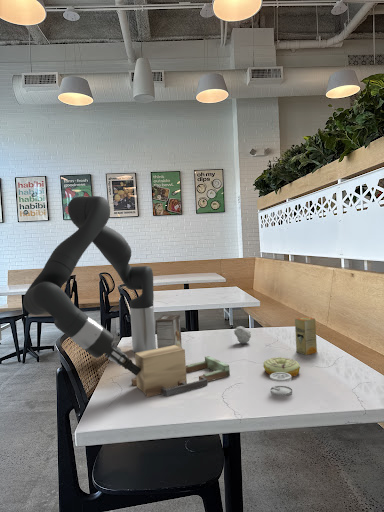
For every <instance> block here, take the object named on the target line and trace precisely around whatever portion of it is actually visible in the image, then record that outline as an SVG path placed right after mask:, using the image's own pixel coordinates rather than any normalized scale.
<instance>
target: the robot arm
mask: <svg viewBox="0 0 384 512" xmlns="http://www.w3.org/2000/svg"><path fill="white" fill-rule="evenodd" d="M67 213H68V216H69V218H70V221H71V222H72V223H73V225H74V226H76V228H78V229H77V230H76V231H75V232H73V234H71V235H69V237H67V238H65V239H64V240H63V241H62V242H60V243H59V244H58V245H57V246H56V247H55V248H54V250H53V251H52V253H51V254H50V256H49V258H48V259H47V261H46V262H45V264H44V266H43V268H42V270H41V272H40V273H39V274H38V275H37V276H36V277H35V279H34V281H32V283H31V284H30V285H29V287H28V288H27V290H26V291H25V294H24V296H23V300H22V301H23V307H24V309H25V311H26V312H28V313H29V314H30V315H35V316H38V315H42V314H45V313H48V314H49V315H50V316H51V317H52V318H53V319H54V321H53V322H54V326H55V327H56V328H57V329H58V331H60V332H61V333H63V334H64V335H66V337H69V338H70V339H71V340H72V341H73V342H74V343H75V344H77V346H79V347H80V348H81V349H83V350H84V351H85V352H87V353H88V354H89V355H91V356H92V357H94V358H95V359H96V358H101V357H103V356H104V357H105V358H107V360H109V361H111V362H113V363H115V364H116V365H118V366H119V367H121V366H122V368H123V369H125V370H128V371H129V372H131V374H133V375H134V376H136V375H138V373H139V372H140V371H141V369H140V368H139V367H138V366H136V363H133V361H132V359H130V358H129V357H128V355H127V353H124V351H122V348H120V347H119V346H118V345H116V344H114V343H113V342H114V337H115V336H114V334H113V333H112V332H110V331H109V330H108V329H106V328H105V326H103V325H102V324H100V323H99V322H98V321H96V320H95V319H94V318H91V316H88V315H87V314H86V313H85V312H83V311H82V310H81V309H80V308H78V307H77V306H76V305H75V304H74V302H73V300H71V298H70V297H69V295H67V293H66V292H65V291H64V289H62V288H61V287H63V285H65V284H66V283H67V282H68V281H69V280H70V278H71V276H72V274H73V272H74V270H75V268H76V267H77V265H78V262H79V261H80V259H81V258H82V256H83V254H84V253H85V252H86V251H87V249H88V248H89V246H90V245H91V244H94V245H95V246H94V247H96V248H97V249H98V250H99V251H100V252H101V255H102V256H103V257H104V259H106V260H107V261H108V263H109V264H110V265H111V266H112V268H113V269H114V270H115V272H116V273H117V275H118V276H119V278H120V279H121V281H122V282H123V285H124V286H125V287H126V288H127V289H129V290H132V291H134V290H135V291H136V290H137V291H139V290H140V291H141V294H140V295H139V296H138V297H136V298H133V299H131V300H130V301H129V310H130V311H129V312H130V326H131V327H130V328H131V329H130V330H131V342H132V343H131V346H132V352H133V353H134V354H135V353H138V352H143V351H148V350H153V349H157V343H156V342H157V337H156V321H155V311H154V310H155V309H154V306H155V305H154V299H155V297H154V296H155V295H154V272H153V269H152V267H151V266H149V265H141V266H140V265H139V266H137V265H136V266H132V265H131V264H130V261H131V258H132V248H131V246H130V245H129V243H128V242H127V240H126V239H125V237H124V236H123V235H122V234H120V233H119V232H118V231H116V230H115V229H113V228H111V227H109V226H108V225H107V224H108V223H109V222H108V221H109V219H110V216H111V206H110V203H109V201H108V199H107V198H105V197H103V196H101V195H99V196H98V195H91V196H90V195H86V196H85V195H83V196H81V195H80V196H76V197H73V198H72V199H70V200H69V202H68V204H67ZM112 343H113V344H112Z"/></svg>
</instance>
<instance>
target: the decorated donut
mask: <svg viewBox="0 0 384 512" xmlns="http://www.w3.org/2000/svg"><path fill="white" fill-rule="evenodd" d="M262 366H263V368H264V371H265V372H266V374H268V375H269V376H270V375H271V374H272V373H277V372H283V373H288V374H290V375H291V378H292V377H297V376H298V374H299V373H300V369H301V366H300V364H299V363H298V361H296V360H294V359H293V358H292V359H291V358H288V357H282V356H280V357H279V356H278V357H276V356H275V357H271V358H268V359H266V360H264V361H263V365H262Z"/></svg>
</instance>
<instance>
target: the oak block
mask: <svg viewBox="0 0 384 512" xmlns="http://www.w3.org/2000/svg"><path fill="white" fill-rule="evenodd" d="M134 360H135V365H136V366H138V367H139V368H140V369H141V371H140V372H139V373H138V375H135V378H137V385H136V387H137V388H138V389H139V390H140V391H141V392H143V393H144V394H145V390H146V389H150V388H154V387H158V386H163V387H164V388H166V389H169V388H173V387H176V386H178V381H182V380H185V381H186V383H187V384H188V381H187V373H186V365H187V363H186V349H184V348H183V347H182V348H180V347H178V346H176V345H173V346H168V347H163V348H158V347H157V348H156V349H153V350H148V351H143V352H138V353H135V352H134Z"/></svg>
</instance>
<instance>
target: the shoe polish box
mask: <svg viewBox="0 0 384 512" xmlns="http://www.w3.org/2000/svg"><path fill="white" fill-rule="evenodd" d="M316 325H317V324H316V318H313V317H309V316H303V317H296V318H294V330H295V346H296V347H295V349H296V350H295V351H296V353H299V354H302V355H306V356H308V355H312V354H316V353H318V350H317V349H318V348H317V347H318V344H317V328H316V327H317V326H316Z"/></svg>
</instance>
